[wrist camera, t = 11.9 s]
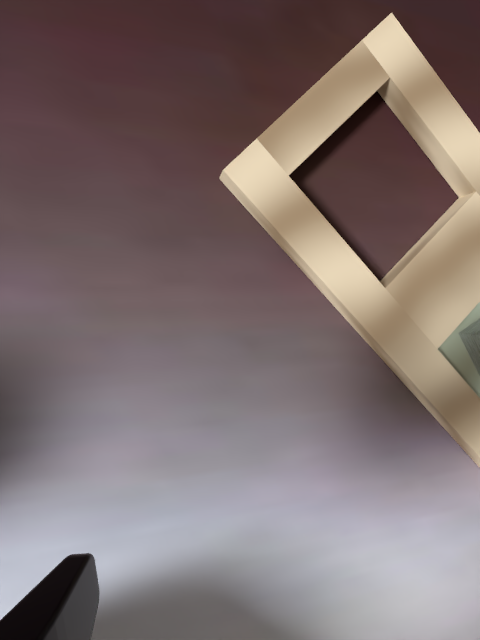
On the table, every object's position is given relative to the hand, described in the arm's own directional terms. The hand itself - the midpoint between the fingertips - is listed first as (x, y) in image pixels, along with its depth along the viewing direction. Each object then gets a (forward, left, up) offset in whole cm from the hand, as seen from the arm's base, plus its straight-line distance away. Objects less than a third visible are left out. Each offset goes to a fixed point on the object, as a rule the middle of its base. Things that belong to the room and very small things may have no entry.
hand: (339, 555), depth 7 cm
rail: (+7, -12, -12) cm, 19 cm away
